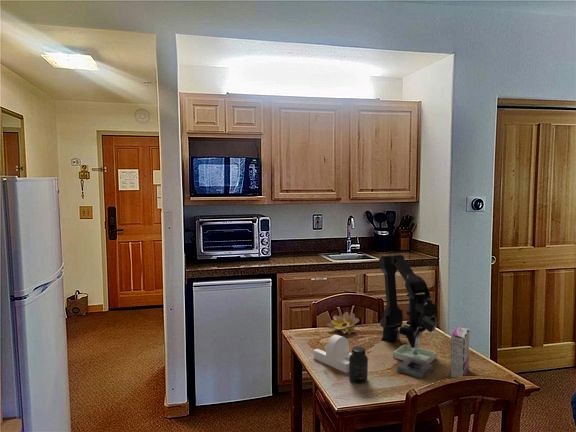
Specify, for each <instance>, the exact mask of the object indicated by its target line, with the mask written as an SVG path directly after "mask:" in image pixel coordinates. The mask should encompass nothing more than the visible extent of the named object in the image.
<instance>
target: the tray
mask: <svg viewBox="0 0 576 432" xmlns="http://www.w3.org/2000/svg"><path fill="white" fill-rule="evenodd" d="M392 358H393V359H396V360H400V361H403V362H404V361H405V360H406V359H408V358H409V359H413V360H416V361H420V362H423V363H427V364H430V365H431V363H432V362H433V361H434V360H436V359H437V352H436V351H432V350H430V349H429V350H428V349H425V348H421V347H419V355H412V354H411V353H410V344H406V343H405V344H403V345H401V346H399V347H398V348H397V349H395V350H394V351H393V352H392Z"/></svg>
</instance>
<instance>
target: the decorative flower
mask: <svg viewBox="0 0 576 432" xmlns="http://www.w3.org/2000/svg"><path fill="white" fill-rule="evenodd" d="M332 318H333V319H331V322H330V323H327V324H326V325H327V326H329V327H331V328H334V329H335V330H339V331H340V332H341V333H343V334H346V333H347V332H348V333H351V334H352V332H354V333H357V332H358V331H357V329H355V328H354V327H353V326H354V325H355V324H357V323H359V322H360V319H359V318H358V317H356V316H355V313H353V312H350V313H349V312H348V311H346V312H345V311H344V313H343V314H342V316H341V315H333V317H332ZM348 333H347V334H348Z"/></svg>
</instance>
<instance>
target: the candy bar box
mask: <svg viewBox="0 0 576 432" xmlns="http://www.w3.org/2000/svg"><path fill="white" fill-rule="evenodd" d="M450 337H451V340H450V341H451V343H450V350H451V351H450V353H451V354H450V358H451V359H450V378H452V379H454V378H453V377H460V376H465V377H466V375H467V373H468V371H469V367H470V366H469V365H470V364H469V363H470V362H469V359H470V356H469V355H470V328H466V327H459V326H456V327H455V329H454V331H453V333H452V334H451V336H450Z"/></svg>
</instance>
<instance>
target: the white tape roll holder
mask: <svg viewBox="0 0 576 432" xmlns="http://www.w3.org/2000/svg"><path fill="white" fill-rule="evenodd" d="M349 345H350V343H349V341H348V339H347V338H346V337H344V336H341V335H339V334H334V335H331V336H330V337H329V339H328V341H327V342H326V345H325V351H324V350H321V348H320V349H319V348H315V349H313V359H314V360H316V361H318V362H321V363H323V364H325V365H327V366H330V367H332V368H334V369H337V370H338V371H341V372H343V373H345V374H347V373H349V357H350V355H351V354H352V352H349V350H350V347H349Z"/></svg>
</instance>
